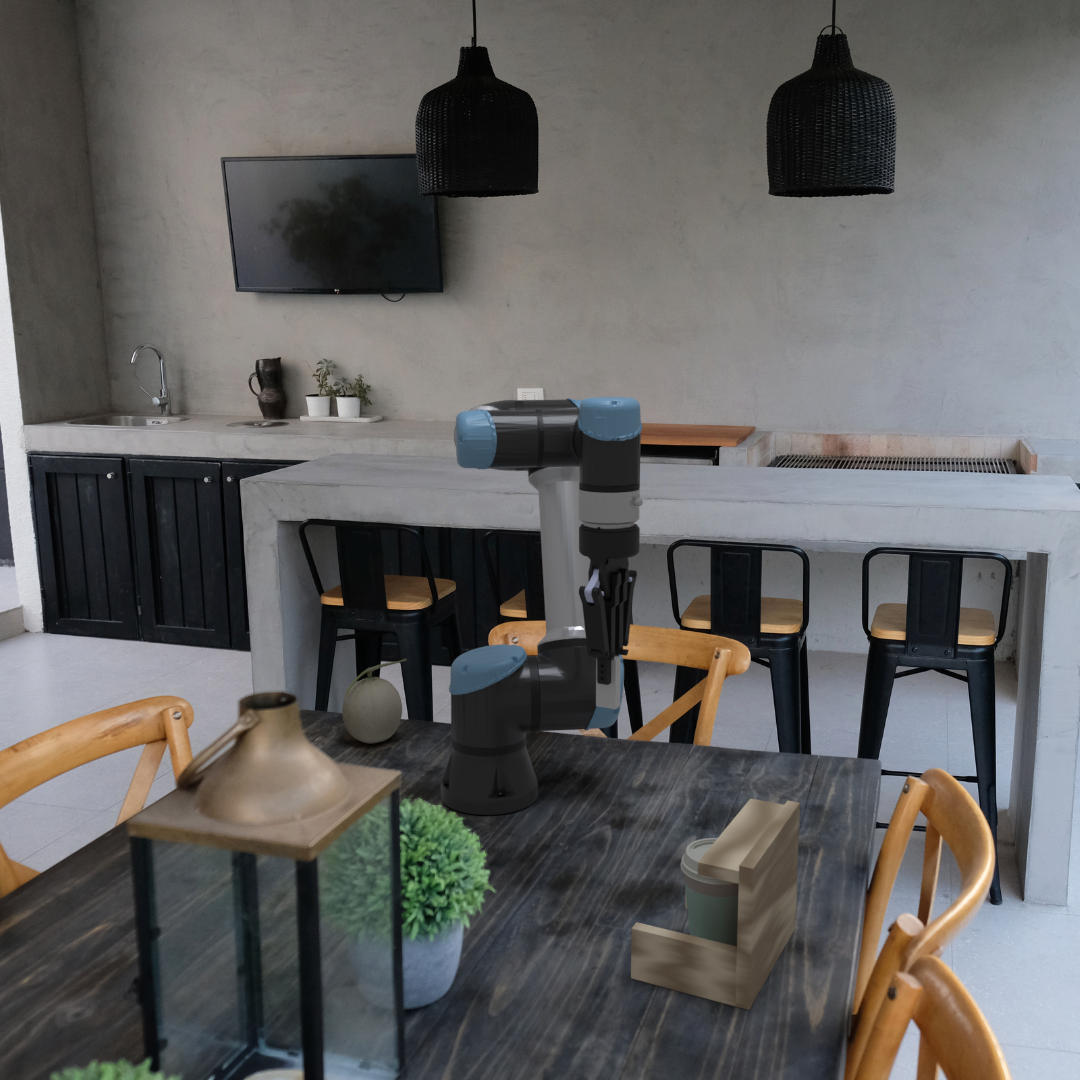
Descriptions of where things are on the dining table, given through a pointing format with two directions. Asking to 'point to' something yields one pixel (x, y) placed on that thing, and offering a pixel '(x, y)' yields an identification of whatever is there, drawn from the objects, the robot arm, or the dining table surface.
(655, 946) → the nook
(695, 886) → the coffee cup
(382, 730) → the fruit
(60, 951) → the dining table surface
